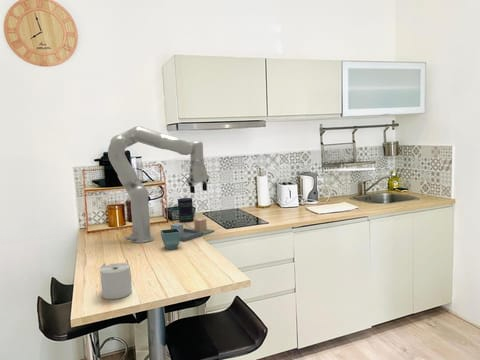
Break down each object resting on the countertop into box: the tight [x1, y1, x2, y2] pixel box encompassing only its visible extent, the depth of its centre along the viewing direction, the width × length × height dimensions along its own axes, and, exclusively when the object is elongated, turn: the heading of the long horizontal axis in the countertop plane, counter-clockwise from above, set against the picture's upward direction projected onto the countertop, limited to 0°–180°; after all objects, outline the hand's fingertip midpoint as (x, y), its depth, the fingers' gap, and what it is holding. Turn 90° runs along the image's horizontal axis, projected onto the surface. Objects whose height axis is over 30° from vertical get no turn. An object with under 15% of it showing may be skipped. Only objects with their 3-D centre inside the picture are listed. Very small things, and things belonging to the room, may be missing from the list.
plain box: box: [170, 222, 184, 236], centre depth 220 cm, size 5×5×6 cm
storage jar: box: [177, 197, 195, 224], centre depth 259 cm, size 10×10×15 cm
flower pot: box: [160, 228, 181, 250], centre depth 199 cm, size 9×9×9 cm
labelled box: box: [193, 218, 208, 232], centre depth 229 cm, size 5×5×7 cm
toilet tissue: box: [99, 262, 133, 300], centre depth 143 cm, size 11×12×10 cm
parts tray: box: [180, 227, 204, 243], centre depth 220 cm, size 14×16×2 cm
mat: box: [191, 228, 215, 236], centre depth 230 cm, size 8×14×1 cm, turn 48°
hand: (198, 191), depth 227 cm, fingers open, 9 cm apart
